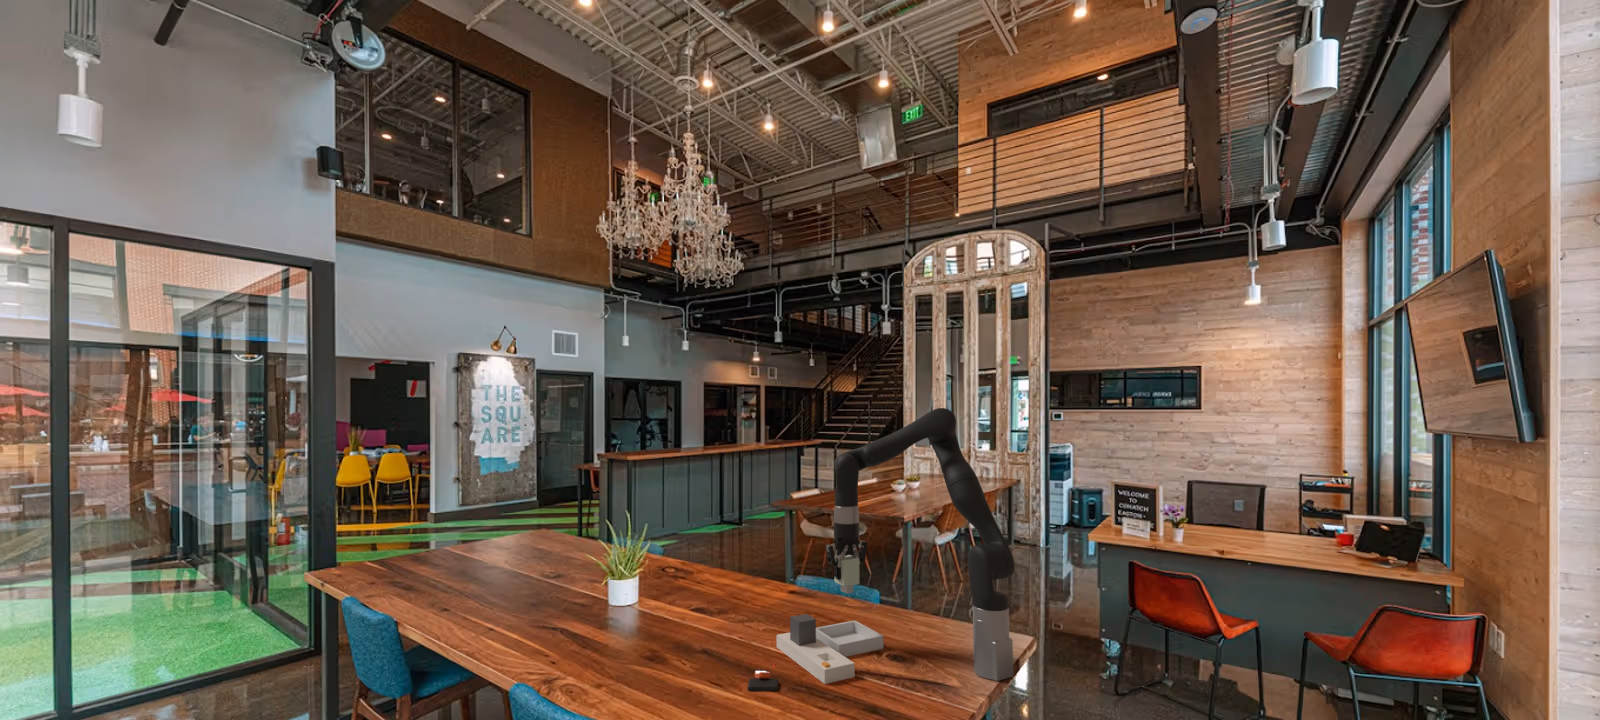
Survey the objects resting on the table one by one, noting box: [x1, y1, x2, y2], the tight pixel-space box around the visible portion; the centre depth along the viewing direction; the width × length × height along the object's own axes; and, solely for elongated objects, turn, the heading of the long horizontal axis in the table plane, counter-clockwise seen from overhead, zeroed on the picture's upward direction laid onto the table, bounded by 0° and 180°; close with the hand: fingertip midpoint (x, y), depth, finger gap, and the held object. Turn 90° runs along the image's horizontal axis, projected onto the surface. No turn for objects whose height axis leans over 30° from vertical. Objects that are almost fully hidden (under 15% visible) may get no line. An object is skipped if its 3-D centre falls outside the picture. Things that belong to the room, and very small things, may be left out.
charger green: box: [833, 555, 860, 594], centre depth 186 cm, size 5×5×10 cm
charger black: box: [789, 613, 817, 646], centre depth 177 cm, size 5×5×9 cm
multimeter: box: [747, 661, 779, 692], centre depth 162 cm, size 18×12×3 cm, turn 174°
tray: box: [816, 619, 884, 658], centre depth 184 cm, size 15×15×4 cm
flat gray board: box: [776, 632, 856, 685], centre depth 172 cm, size 28×9×4 cm, turn 28°
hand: (846, 577), depth 185 cm, fingers closed on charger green, 5 cm apart
